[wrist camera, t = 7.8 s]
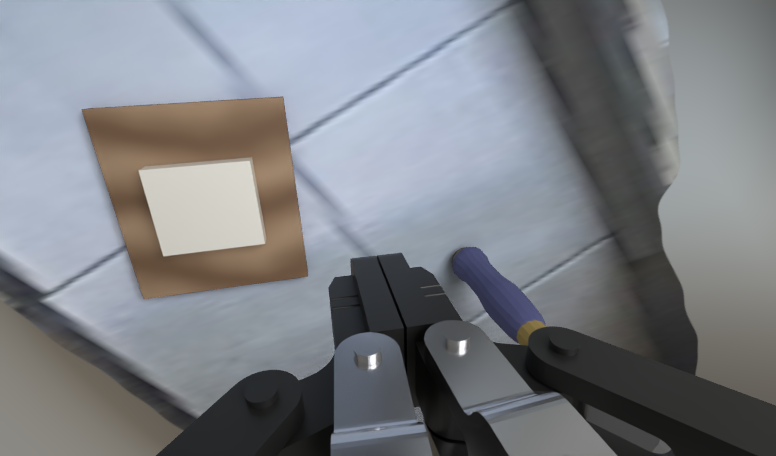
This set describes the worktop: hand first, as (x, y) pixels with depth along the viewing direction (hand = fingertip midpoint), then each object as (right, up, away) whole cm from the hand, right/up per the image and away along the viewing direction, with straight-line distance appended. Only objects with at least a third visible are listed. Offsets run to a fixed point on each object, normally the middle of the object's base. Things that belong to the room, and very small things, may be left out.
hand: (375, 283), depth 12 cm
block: (-12, +4, +25) cm, 28 cm away
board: (-17, +4, +26) cm, 31 cm away
